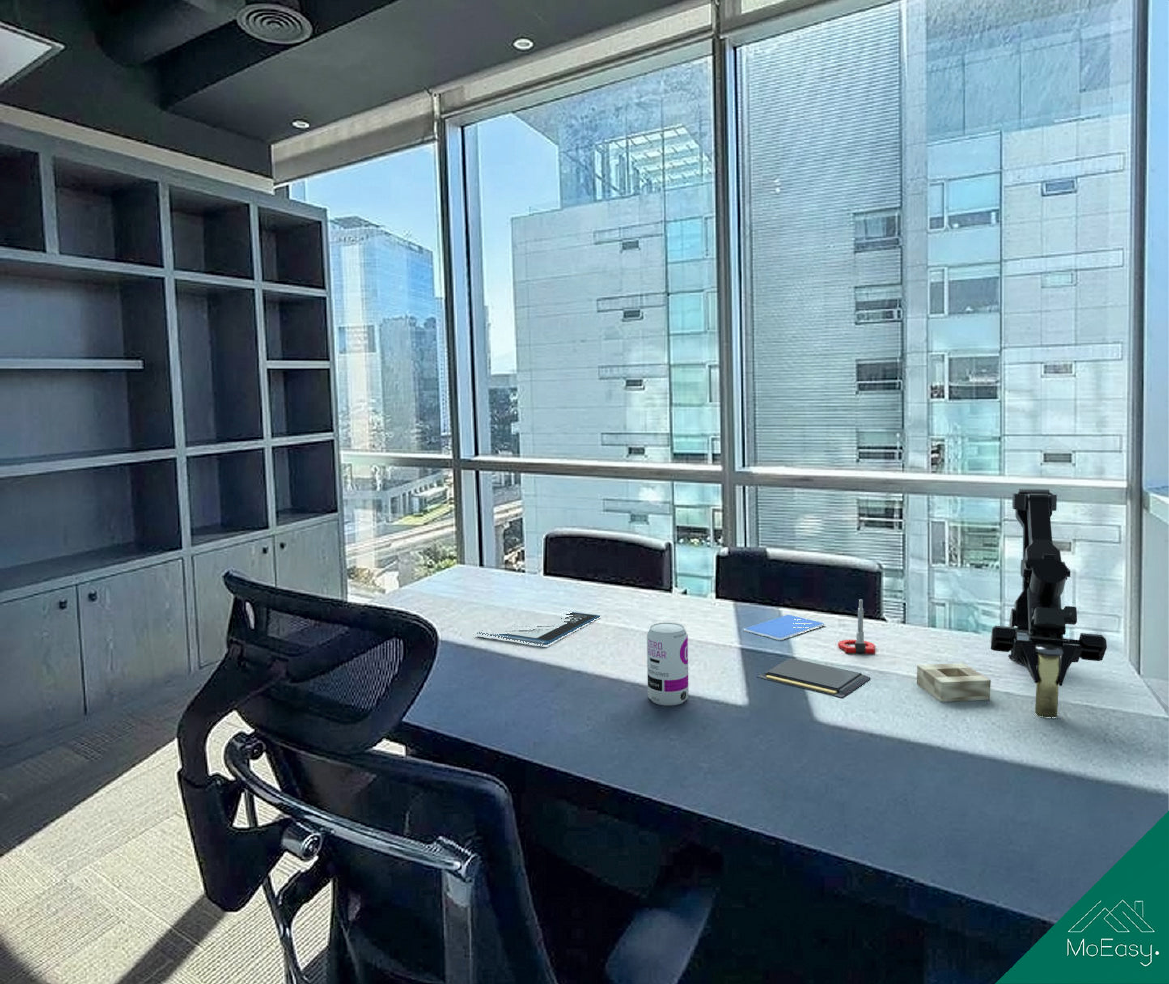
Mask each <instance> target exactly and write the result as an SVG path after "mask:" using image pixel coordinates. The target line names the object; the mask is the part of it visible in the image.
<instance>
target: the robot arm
mask: <svg viewBox="0 0 1169 984" xmlns="http://www.w3.org/2000/svg"><path fill="white" fill-rule="evenodd" d="M1057 503H1058V495H1057V494H1053V493H1052V492H1050V489H1042V488H1041V489H1040V488H1038V489H1037V488H1019V489H1018V492H1017V493H1012V502H1011V505H1012V509H1013V510H1014V511H1015V518H1016V520H1017V521H1018V523H1019V524H1020V526H1021V527H1022V558H1021V559H1020V577H1021V578H1022V584H1021V585H1022V589H1021V590H1022V592H1021V593H1020V594H1019V596H1018V597H1017V598H1016V600H1015V601H1014V608H1011V610H1010V616H1009V625H1008V626H1006V625H1005V626H1004V625H994V626H993V627H992V629H991V635H990V650H992V651H994V652H1003V653H1005V652H1006V653H1009V652H1010V654H1008V655H1007V656H1008V658H1010V659H1012V660H1013V661H1016V662H1017V663H1018V664H1020V665H1022V666H1025V667H1026V669H1027V671H1028V673H1029V674H1030V676H1031V679H1032V681H1033V682H1034V684H1036V683H1038V672H1037V662H1038V653H1037V652H1035V645H1037V644H1052V645H1057V646H1060V647H1062V648H1063V649H1064V654H1063V655H1062V656H1060V672H1059V687H1062V686H1063V683H1064V681H1065V677H1066V676H1067V675H1066V674H1067V672H1068V670H1069V668H1070V667H1071V665H1072V663H1079V661H1080V659H1081V660H1085V661H1095V662H1100V661H1104V657H1105V654H1106V651H1107V648H1108V646H1107V643H1108V642H1107V639H1106V638H1105V636H1104V635H1102V634H1098V633H1097V634H1095V633H1094V634H1093V633H1086V632H1080V635H1079V638H1078V639H1073V638H1064V635H1066V632H1067V631H1066V627H1067V626H1066V625H1071V626H1073V625H1074V626H1075V625H1076V624H1077V623H1078V611H1077V607H1076V606H1070V605H1065V606H1064V607H1063V608H1062V598H1061V596H1062V594H1063V593H1064V590H1065V589H1064V588H1065V585H1066V581H1067V580H1068V578H1071V570H1070V569H1069V567H1068V566H1067V565H1066V561H1062V556H1061V551H1060V549H1059V548H1057V546H1055V545H1054V544H1053V535H1052V534H1053V532H1052V524H1051V523H1052V521H1051V518H1052V515H1053V512H1056V511H1057V507H1058V506H1057Z"/></svg>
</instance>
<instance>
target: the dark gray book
mask: <svg viewBox="0 0 1169 984" xmlns="http://www.w3.org/2000/svg"><path fill="white" fill-rule="evenodd" d="M756 678H757V679H761V680H765V681H770V682H774V683H778V684H780V685H781V684H782V685H785V686H790V687H794V688H798V689H803V690H806V691H809V692H810V691H811V692H814V693H818V694H821V695H825V696H826V695H827V696H830V697H835V698H838V699H845V697H847V696H849V695H851V694H852V693H854V692H855V691H857V690H858V689H860V688H862V687H863V686H864V685H866V684H867V683H868V681H869V680H870V679H871V676H867V675H866V674H862V673H861V672H858V671H854V670H847V669H843V668H839V667H834V666H830V665H826V664H821V663H815V662H811V661H807V660H802V659H799V658H798V659H797V658H794V657H793V658H789V659H787V660H784V661H782V662H781V663H779V664H777V665H776V666H774V667H772V668H770V669H769V670H767V671H766V670H765V672H763V673H761V674H759V675H758V676H756ZM870 681H871V680H870ZM870 681H869V682H870ZM866 682H867V683H866ZM865 683H866V684H865ZM862 685H863V686H862ZM859 687H860V688H859ZM853 691H854V692H853Z"/></svg>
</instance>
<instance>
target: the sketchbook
mask: <svg viewBox="0 0 1169 984" xmlns="http://www.w3.org/2000/svg"><path fill="white" fill-rule="evenodd" d="M571 612H572V613H570V614H566V615H573V616H569V617H565V619H570V621H564V622H558V623H567V624H558V625H555V624H554V625H551V626H537V627H559V628H551V629H545V630H543V629H533V630H531V629H530V630H517V631H516V630H514V631H513V630H512V631H505V632H528V633H513V634H512V633H511V634H509V633H507V634H499V635H498V634H497V635H496V634H495V635H494V634H490V636H492V635H493V636H495V637H496V636H498V638H499V637H500V636H501V638H502V637H503V636H504V637H503V639H504V638H506V640H507V639H509V640H510V639H512V640H514V641H515V640H517V641H518V640H520V642H521V641H523V643H524V641H525V642H526V643H527V642H529V643H534V644H537V645H538V644H540V646H541V644H542V646H543V645H548V644H550V643H552V642H554V641H555V640H558V639H559V638H561V637H562V636H565V635H567V634H568V633H570V632H573V631H574V630H576V629H577V628H579V627H582V626H583V625H585V624H587V623H590V622H591V621H593V620H594V619H597V618H599V617H600V616H601V617H602V615H598V614H590V613H585V612H577V611H576V612H574V611H571ZM561 619H562V618H561ZM599 619H600V618H599ZM590 624H591V623H590ZM526 627H527V626H526ZM529 632H531V633H529ZM476 633H477V634H478V633H479V634H481V633H482V632H481V633H480V631H478V632H476ZM483 634H485V633H482V635H483ZM486 634H488V633H486ZM486 634H485V635H486ZM488 635H489V634H488ZM488 635H487V636H488ZM507 636H508V637H507ZM529 643H528V644H529Z"/></svg>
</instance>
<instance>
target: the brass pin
mask: <svg viewBox="0 0 1169 984" xmlns="http://www.w3.org/2000/svg"><path fill="white" fill-rule="evenodd" d="M1035 652H1037V653H1038V662H1037V665H1036V667H1037V672H1038V683H1035V684H1036V688H1035V708H1034V714H1035V713H1036V714H1037V715H1038V716H1037V715H1036V714H1035V715H1036V716H1037V717H1039V716H1043V717H1051V718H1052V717H1057V718H1058V712H1059V711H1058V708H1059V688H1060V686H1059V672H1060V658H1061V656H1062V655H1063V654H1064V649H1063V648H1062V647H1060V646H1057V645H1052V644H1037V645H1035Z"/></svg>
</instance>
